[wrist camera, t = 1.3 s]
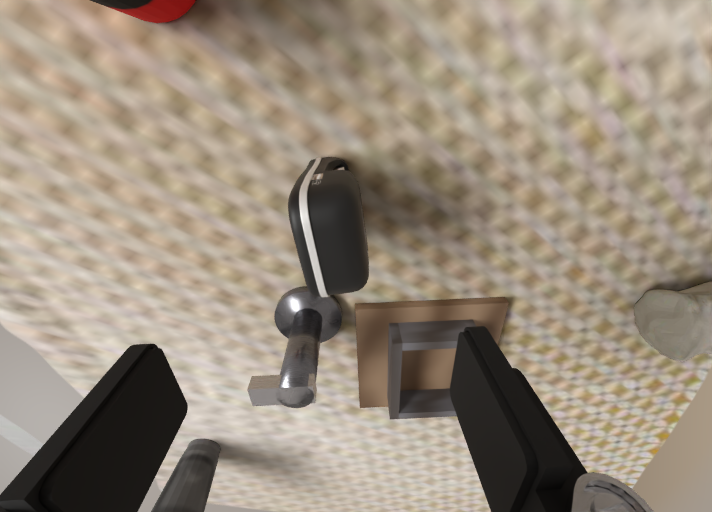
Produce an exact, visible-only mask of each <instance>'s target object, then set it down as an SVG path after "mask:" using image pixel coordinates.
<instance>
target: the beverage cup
mask: <svg viewBox="0 0 712 512" xmlns="http://www.w3.org/2000/svg"><path fill="white" fill-rule="evenodd" d="M220 450H221V449H220V446H219V445H218V444H217V443H215V442H213V441H211V440H207V439H197V440H193V441H191V442H190V443H189V445H188V447H187V449H186V450H185V452H184V454H183V455H182V457H181V458H180V460H179V462H178V464H177V466H176V467H175V469H174V471H173V473H172V475H171V477H170V478H169V480H168V482H167V484H166V486H165V487H164V489H163V491H162V493H161V495H160V497H159V498H158V500H157V502H156V504H155V506H154V508H153V509H152V511H151V512H204V510H205V506H206V502H207V499H208V495H209V491H210V488H211V484H212V481H213V477H214V473H215V470H216V466H217V462H218V457H219V453H220Z"/></svg>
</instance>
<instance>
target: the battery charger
mask: <svg viewBox="0 0 712 512" xmlns="http://www.w3.org/2000/svg"><path fill="white" fill-rule="evenodd" d="M288 211H289V219H290V224H291V228H292V232H293V236H294V240H295V244H296V248H297V252H298V256H299V259H300V263H301V267H302V270H303V274H304V278H305V281H306V285H307V288H308V290H309V292H310V294H311V295H313V296H315V297H319V296H321V297H329V296H330V295H335V294H342V293H350V292H354V291H358V290H360V289H361V288H363V287H364V285H365V284H366V283H367V280H368V276H369V261H368V246H367V238H366V231H365V224H364V216H363V209H362V202H361V194H360V188H359V184H358V181H357V180H356V178H355V177H354V175H353V174H352V173H351V172H350V171H349V169H348V165H347V163H346V162H345V161H344V160H342V159H340V158H335V157H327V158H322V157H319V158H316V159H314V160H311V161H310V162H309V165H308V166H307V168H306V170H305V171H304V172H303V173H302V174H301V176H300V177H299V178H298V180H297V181H296V183H295V185H294V187H293V189H292V191H291V193H290V196H289V202H288Z"/></svg>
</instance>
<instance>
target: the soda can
mask: <svg viewBox="0 0 712 512" xmlns="http://www.w3.org/2000/svg"><path fill="white" fill-rule="evenodd" d="M91 1H93V2H96V3H99V4H101V5H104V6H107V7H109V8H112V9H115V10H117V11H120V12H123V13H125V14H128V15H131V16H133V17H136V18H138V19H141V20H144V21H148V22H155V23H161V22H169V21H172V20H175V19H178V18H179V17H181V16H182V15H184V14H185V13H186V12H187V11H188V10H189V9H190V8H191V7H192V5H193V4H194V3H195V1H196V0H91Z"/></svg>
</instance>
